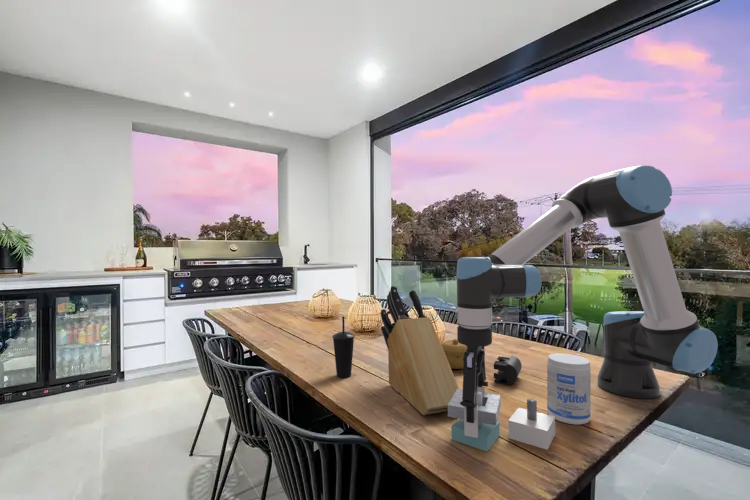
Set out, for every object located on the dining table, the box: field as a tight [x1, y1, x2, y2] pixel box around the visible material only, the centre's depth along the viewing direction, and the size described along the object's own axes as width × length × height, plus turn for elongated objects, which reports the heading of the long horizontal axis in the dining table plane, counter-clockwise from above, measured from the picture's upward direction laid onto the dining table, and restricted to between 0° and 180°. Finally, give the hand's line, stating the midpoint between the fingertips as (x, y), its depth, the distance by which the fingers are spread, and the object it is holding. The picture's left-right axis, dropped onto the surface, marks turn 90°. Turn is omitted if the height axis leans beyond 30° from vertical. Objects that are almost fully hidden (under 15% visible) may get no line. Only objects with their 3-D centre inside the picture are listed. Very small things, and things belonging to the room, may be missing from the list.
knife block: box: [380, 285, 460, 416], centre depth 105 cm, size 11×35×31 cm, turn 19°
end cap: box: [493, 355, 522, 386], centre depth 114 cm, size 10×7×7 cm
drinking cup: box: [331, 316, 356, 379], centre depth 120 cm, size 8×8×20 cm
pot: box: [441, 338, 467, 370], centre depth 127 cm, size 12×12×10 cm
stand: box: [507, 398, 556, 451], centre depth 80 cm, size 8×8×8 cm
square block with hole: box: [447, 388, 502, 426], centre depth 79 cm, size 10×10×2 cm
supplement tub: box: [546, 352, 592, 426], centre depth 89 cm, size 10×10×15 cm
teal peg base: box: [451, 391, 501, 452], centre depth 79 cm, size 8×8×10 cm
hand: (475, 424), depth 79 cm, fingers closed on square block with hole, 10 cm apart
